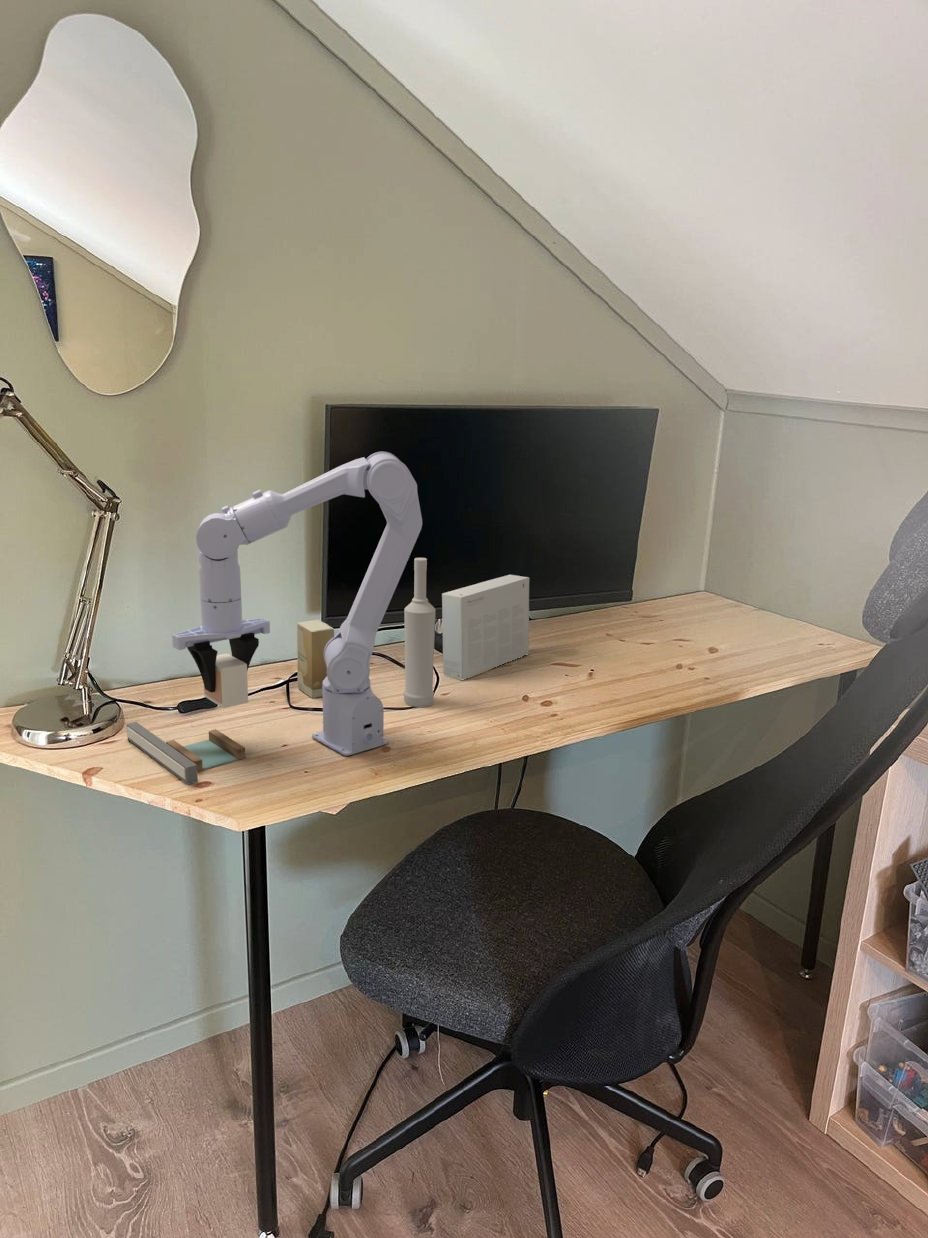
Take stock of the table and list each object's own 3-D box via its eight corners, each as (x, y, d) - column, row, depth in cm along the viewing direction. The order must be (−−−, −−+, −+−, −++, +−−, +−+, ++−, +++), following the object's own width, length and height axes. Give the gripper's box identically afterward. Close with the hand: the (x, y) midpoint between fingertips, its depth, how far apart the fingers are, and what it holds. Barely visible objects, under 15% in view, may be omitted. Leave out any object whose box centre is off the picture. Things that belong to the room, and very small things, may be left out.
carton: (228, 691, 147) (227, 653, 145) (248, 702, 143) (246, 663, 141) (203, 696, 144) (201, 658, 143) (222, 708, 140) (220, 669, 138)
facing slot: (245, 757, 142) (245, 747, 141) (194, 772, 136) (194, 761, 136) (216, 739, 148) (215, 729, 148) (166, 752, 143) (166, 742, 142)
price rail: (197, 781, 134) (196, 764, 133) (186, 784, 133) (185, 768, 132) (137, 737, 148) (136, 721, 147) (126, 739, 147) (125, 724, 146)
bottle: (426, 709, 162) (429, 563, 155) (398, 704, 164) (399, 560, 157) (438, 699, 167) (441, 557, 160) (410, 695, 169) (412, 554, 162)
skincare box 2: (507, 649, 196) (510, 573, 191) (529, 655, 192) (533, 577, 188) (439, 674, 180) (440, 591, 175) (462, 681, 176) (464, 597, 172)
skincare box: (296, 688, 171) (295, 621, 167) (319, 684, 173) (318, 618, 170) (312, 699, 165) (311, 630, 162) (335, 695, 168) (334, 627, 164)
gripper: (186, 611, 132) (191, 705, 135) (279, 596, 141) (281, 684, 145) (163, 600, 137) (169, 691, 141) (255, 586, 146) (258, 672, 150)
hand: (224, 687), depth 143 cm, fingers closed on carton, 4 cm apart
